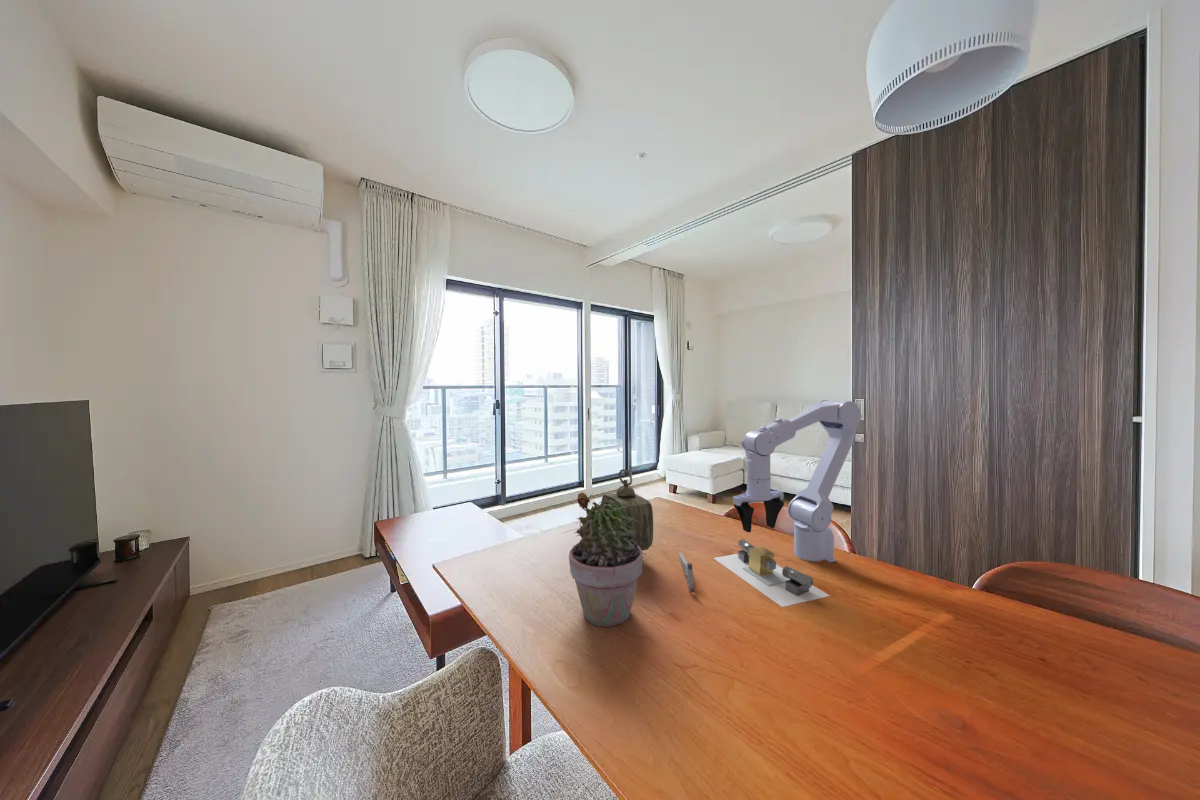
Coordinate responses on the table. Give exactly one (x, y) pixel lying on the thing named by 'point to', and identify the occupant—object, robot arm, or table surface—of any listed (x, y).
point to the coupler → (761, 560)
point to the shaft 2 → (797, 581)
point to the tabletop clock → (634, 511)
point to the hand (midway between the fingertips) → (758, 528)
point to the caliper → (687, 571)
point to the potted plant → (605, 563)
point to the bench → (769, 582)
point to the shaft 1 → (744, 550)
